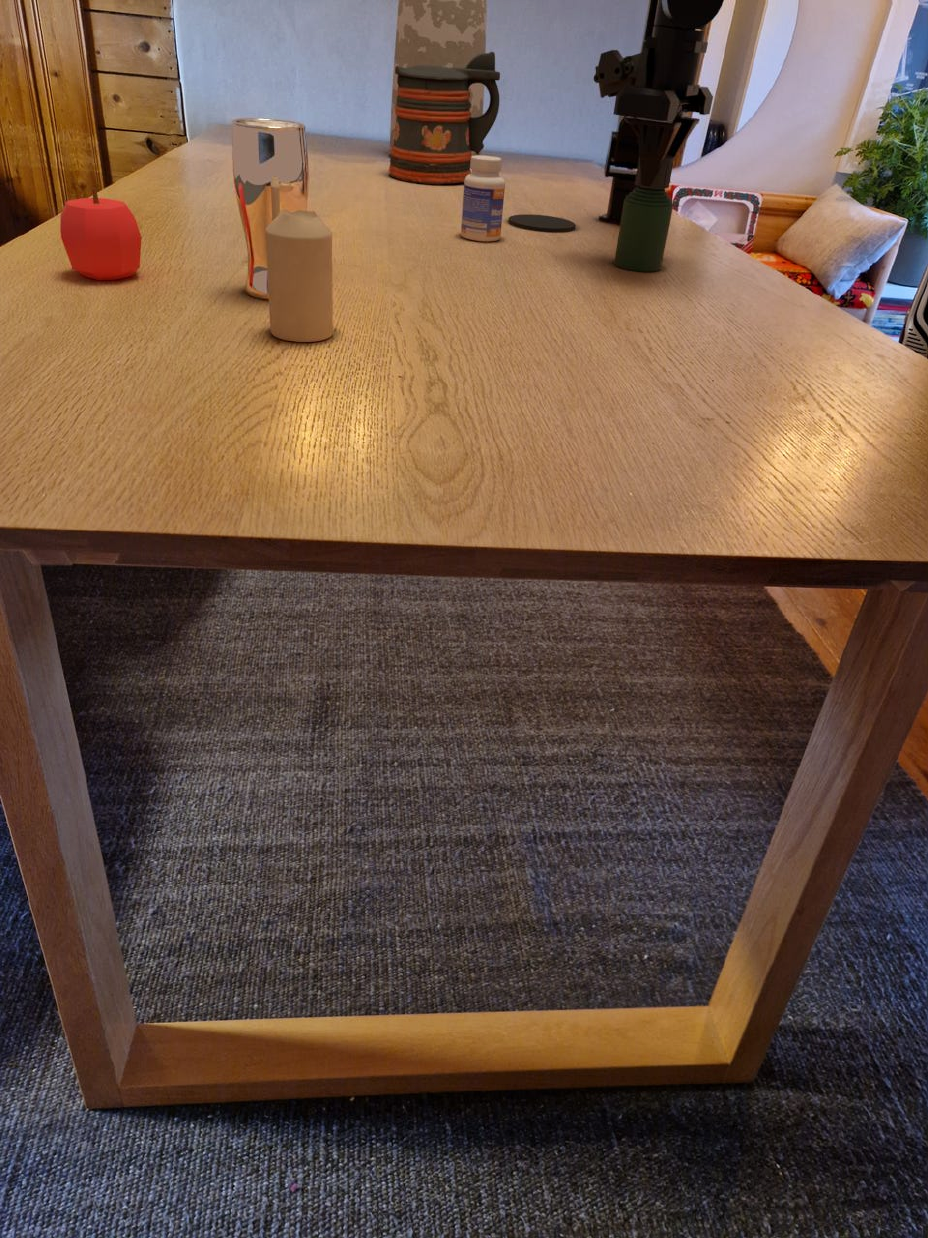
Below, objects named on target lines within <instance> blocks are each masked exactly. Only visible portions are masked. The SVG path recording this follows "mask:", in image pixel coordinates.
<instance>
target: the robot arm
mask: <svg viewBox="0 0 928 1238" xmlns="http://www.w3.org/2000/svg"><path fill="white" fill-rule="evenodd" d="M724 1H725V0H648V5H647V11H646V16H645V22H644V28H643V33H642V38H641V39H642V40H641V45H640V51H639V53H636V54H632V55H627V56H625V57H623V56H622V54H621V52H620V51H619V50H618V49H611V50H607V51H604V52H602V53H600V56H599V59H598V64H597V66H595V67H594V68H595V74H594V76H593V81H594V83H596V84H598V87H599V88H598V89H599V93H600V98H601V99H603V98H605V97H608V98H613V97H615V100H614V107H613V115H615V116H618V118H617V124H616V130H612V131H611V133H610V138H609V143H608V148H607V153H606V158H605V165H604V170H603V171H604V172H603V174H604V177H605V178H612V180H611V185H610V192H609V198H608V204H607V205H608V206H607V211H606V213H604V214H602V215H601V214H600V215H599V216H598V220H599V221H604V222H611V223H616V224H620V223H621V217H622V211H623V205H624V199H625V198H626V196H627V195H629V194H630V192H633V190H634V189H637V185H635V179H636V173H637V167H638V161H639V157H640V172H641V184H642V185H644V186H650V185H651V184H652V182H653V180H654V178H655V176H656V174H657V173H658V170H659V168H660V166H661V164H662V162H663V160H664V158H665V156H666V155H671V156H673V157H674V161H673V163H674V162H675V160H676V158H677V157H678V155H679V153H680V152H681V150H682V149H683V146H684V145H685V144H686V142H687V141H688V139H689V137H690V135H691V134H692V132H693V131H694V129H695V128H696V126H697V125H698V124H699V123H700V118H696V117H689V116H690V113H698V114H699V115H702V116H707V115H710V114H711V109H712V105H713V100H714V96H713V94H712V92H711V90H710V89H709V87H708V86H700V84H696V83H697V77H698V70H699V66H700V61H701V56H702V54H706V53H707V50H708V44H709V42H708V41H705V35H706V30H707V25H708V24H709V23H711V22H712V21H713V20H714V19H715V18H716V16H717V15H718V14H719V12H720V11H721V10H722V7H723V4H724ZM611 167H615V168H611ZM617 168H618V169H617ZM619 168H621V169H619ZM628 169H631V170H628ZM632 169H633V170H632Z"/></svg>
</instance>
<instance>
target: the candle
mask: <svg viewBox="0 0 928 1238" xmlns="http://www.w3.org/2000/svg"><path fill="white" fill-rule="evenodd" d="M265 236H266V256H267V275H268V295H269V300H268V311H269V315H268V316H269V327H270V328H269V329H270V333H271V334H272V335H273V336H274V337H275V338H278V339H281V340H284V341H291V342H296V343H311V342H320V341H323V340H324V341H325V340H327V339H329V338H330V337H332V336H333V332H334V317H333V315H334V304H333V303H334V297H333V296H334V295H333V291H334V289H333V286H334V285H333V232H332V231H331V229H330V228H329V226H327V224H326V223H325V222H324V221H323V220H322V218H320V216H319V215H318V213H317V212H316V211H314V210H312V211H310V210H307V211H305V210H297V211H295V212H290V211H288V210H285V209H283V210H282V211H281V212H280V213H279V215H278V216H277V217H276V218H275V219H274V220H273V221H272V222H271V223H270V224H269V225H268V226H267V228H266V229H265Z"/></svg>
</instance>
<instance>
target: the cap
mask: <svg viewBox="0 0 928 1238" xmlns="http://www.w3.org/2000/svg"><path fill="white" fill-rule="evenodd" d="M673 161H674V162H675V160H674V157H673V156H671V155H666V156H665V158H664V160H663V162H662V164H661V166H660V168H659V170H658V173H657V174H656V176H655V178H654V180H653V182H652V184H651V185H650V186H644V185H642V184H641V172H640V157H639V161H638V167H637V169H636V171H637V173H636V179H635V185H637V186H640V187H645V188H652V189H665V190H666V189H669V188H670V183H671V177H672V171H673V167H674V162H673Z"/></svg>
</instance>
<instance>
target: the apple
mask: <svg viewBox="0 0 928 1238" xmlns="http://www.w3.org/2000/svg"><path fill="white" fill-rule="evenodd" d="M91 190H92V191H91V192H92V197H83V198H82V197H81V198H76V199H70V200H66V202H65V204H64V206H63V208H62V210H61V213H60V221H59V222H60V223H59V225H60V227H59V229H60V239H61V241H62V242H61V243H62V244H63V247H64V250H65V252H66V255H67V259H68V260H69V264H70V266H71V268H72V270H74V271H76V272H78V273H79V274H81V275H82V276H84V277H85V278H87V279H92V280H96V281H115V280H116V281H117V280H122V279H126V278H130V277H132V276H133V275H134V274H135V273H136V272H137V271H138V270H139V269H140V268H141V256H142V255H141V253H142V252H141V251H142V235H141V231H140V228H139V225H138V221H137V219H136V217H135V214H133V212H132V211H131V209H130V207H129V206H128V205H127V203H126V202H125V201H122V200H117V199H111V198H106V197H105V198H103V197H99V195H98V192H97V188H96V187H91Z"/></svg>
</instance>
